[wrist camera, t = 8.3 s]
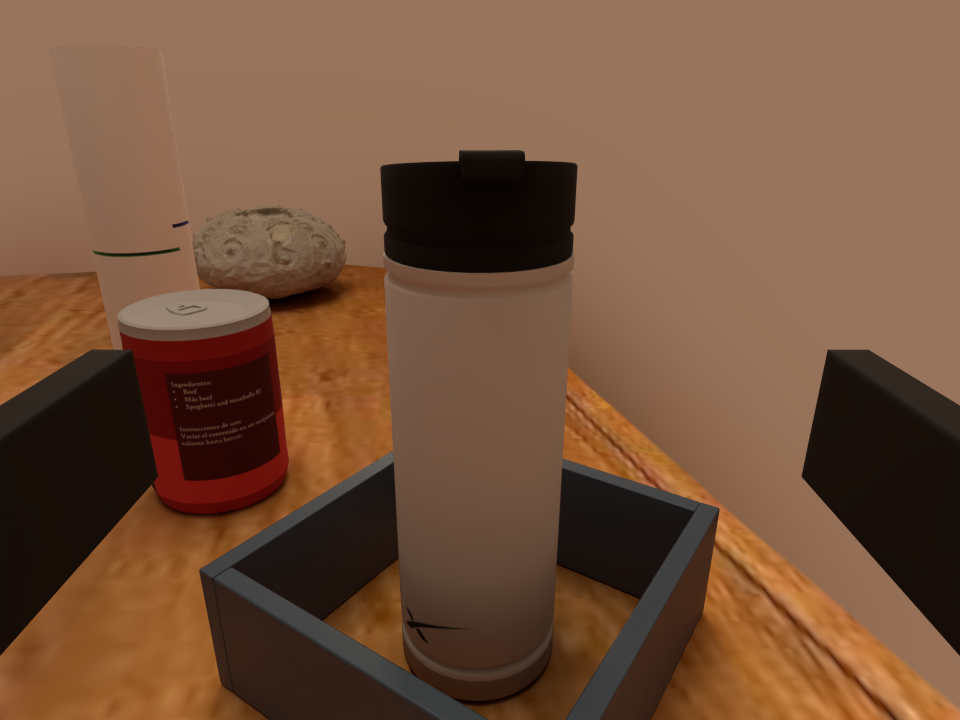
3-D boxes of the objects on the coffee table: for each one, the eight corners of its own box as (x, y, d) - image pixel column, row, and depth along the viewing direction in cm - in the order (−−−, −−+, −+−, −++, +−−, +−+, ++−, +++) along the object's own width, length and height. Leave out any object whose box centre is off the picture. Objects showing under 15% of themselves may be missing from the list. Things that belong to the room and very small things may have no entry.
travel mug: (404, 721, 24) (373, 152, 16) (403, 595, 30) (379, 140, 23) (570, 704, 24) (610, 151, 17) (535, 585, 31) (554, 140, 23)
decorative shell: (377, 291, 80) (372, 209, 76) (247, 325, 67) (234, 228, 64) (293, 269, 91) (285, 196, 87) (167, 294, 78) (152, 210, 74)
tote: (549, 931, 18) (558, 793, 16) (220, 683, 25) (198, 569, 23) (703, 611, 29) (719, 507, 27) (443, 506, 37) (442, 419, 35)
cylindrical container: (227, 359, 58) (182, 52, 49) (180, 391, 51) (117, 43, 42) (155, 354, 59) (97, 53, 50) (100, 385, 52) (22, 45, 43)
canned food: (211, 441, 44) (184, 283, 40) (315, 459, 41) (298, 294, 37) (121, 503, 37) (78, 319, 33) (240, 528, 35) (210, 335, 31)
